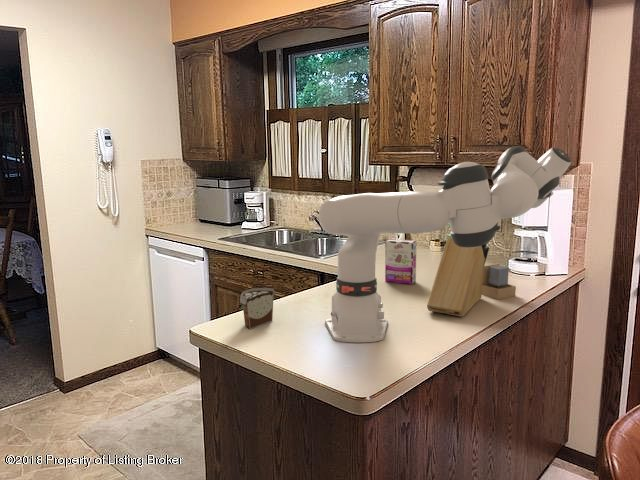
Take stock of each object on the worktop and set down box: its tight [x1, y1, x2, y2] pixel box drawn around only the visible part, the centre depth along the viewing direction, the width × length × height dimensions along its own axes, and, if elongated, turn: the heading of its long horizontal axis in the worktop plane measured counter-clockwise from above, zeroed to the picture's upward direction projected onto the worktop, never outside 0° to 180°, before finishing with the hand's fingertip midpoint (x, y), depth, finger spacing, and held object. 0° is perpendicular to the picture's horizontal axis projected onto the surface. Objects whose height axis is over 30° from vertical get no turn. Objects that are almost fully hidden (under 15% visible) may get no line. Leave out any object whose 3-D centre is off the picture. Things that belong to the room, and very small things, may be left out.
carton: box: [482, 263, 517, 300], centre depth 186 cm, size 8×8×10 cm
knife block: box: [426, 237, 490, 317], centre depth 176 cm, size 11×35×31 cm, turn 149°
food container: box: [239, 287, 276, 330], centre depth 160 cm, size 12×6×10 cm, turn 141°
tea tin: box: [488, 265, 510, 289], centre depth 186 cm, size 5×5×10 cm
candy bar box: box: [384, 238, 417, 286], centre depth 204 cm, size 11×5×16 cm, turn 62°
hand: (506, 214), depth 183 cm, fingers open, 8 cm apart
